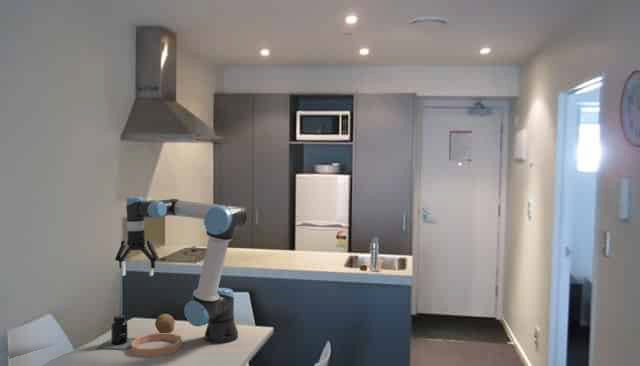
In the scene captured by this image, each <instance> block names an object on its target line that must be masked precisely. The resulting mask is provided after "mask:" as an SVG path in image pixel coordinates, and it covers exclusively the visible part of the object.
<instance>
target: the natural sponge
mask: <svg viewBox="0 0 640 366" xmlns="http://www.w3.org/2000/svg"><path fill="white" fill-rule="evenodd" d="M154 322H155V323H154V325H155V328H156V330H157V331H158V333H172V332H173V331H174V329H175V323H176V322H175V319H174V317H173V316H172V315H170V314H168V313H163V314H160V315H159V316H158V317H157V318H156V320H155V321H154Z"/></svg>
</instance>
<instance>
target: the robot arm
mask: <svg viewBox="0 0 640 366" xmlns="http://www.w3.org/2000/svg"><path fill="white" fill-rule="evenodd" d="M125 201H126V202H125V203H126V205H125V208H126V209H125V210H126V225H127V226H126V229H127V240H125V239H124V240H121V241H120V247H119V249H118V252H117V254H116V256H115V259H114V260H115V261H116V262H118V263H119V264H118V265H119V269H121V272H120V273H121V277H124V276H126V275H127V273H126V269H127V268H126V261H125V259H126V258H127V257H128V255H130V252H131V251H141V252H142V253H143V254H144V255H145V256H146V257H147V259H148V260H149V261H148V267H149V269H148V270H149V277H152V276H154V275H155V274H154V269H156V261H157V260H160V257H159V256H158V253H157V251H156V250H155V248H154V246H153V242H152V240H151V239H149V240H146V239H145V236H146V235H145V218H149V219H150V218H151V219H152V218H153V219H158V218H159V219H161V218H164V217H166V216H176V217H185V218H191V219H198V220H203V225H204V226H205V230H206V231H205V232H206V233H205V234H206V235H207V237H208V239H207V244H206V245H207V246H206V249H205V254H204V258H203V263H202V267H201V273H200V277H199V282H198V285H197V288H196V289H194V291H193V292H192V296H191V300H190V301H188V302H187V303H186V304H185V306H184V312H183V313H184V316H185V318H186V320H187V323H189V324H190V325H192V326H194V327H202V326H206V325H207V326H206V329H205V333H204V340H205V342H208V343H212V344H226V343H231V342H233V341H236V340H237V339H238V338H239V332H238V329H237V325H236V323H235V310H234V309H235V308H234V307H235V305H234V304H235V303H234V302H235V301H234V300H235V299H234V298H235V295H234V290H233V289H231V288H227V287H219V286H220V281H221V277H222V273H223V268H224V264H225V261H226V256H227V252H228V251H227V250H228V246H229V244H230V243H229V242H230V241H232V240H234V236H235V231H237V230H240V229H242V228H244V227H245V226H246V224H247V223H248V221H249V213H248V210H247V208H246V207H245V206H243V205H242V204H240V203H226V202H225V203H223V204H215V203H207V202H206V203H205V202H198V201H197V202H196V201H188V200H180V199H178V198H170V199H169V198H168V199H163V200H151V201H150V200H148V201H147V200H146V201H145V200H144V197H143V196H129V197H127V198H126V200H125ZM145 245H146V246H147V247H146V246H145ZM126 246H128V247H127V249H126ZM123 252H124V253H123Z"/></svg>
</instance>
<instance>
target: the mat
mask: <svg viewBox="0 0 640 366" xmlns="http://www.w3.org/2000/svg"><path fill="white" fill-rule="evenodd" d="M136 338H137V337H128V340H127V342H126V343H125V344H121V345H114V344H112V342H111V338H109V339H107V340H106V341H104V342H102V343H101V344H99V345H98V346H96V347H95V349H96V350H98V349H100V350H116V351H128V349H130V348H132V344H131V342H132V341H133V340H135V339H136Z"/></svg>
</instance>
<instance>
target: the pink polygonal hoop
mask: <svg viewBox="0 0 640 366" xmlns="http://www.w3.org/2000/svg"><path fill="white" fill-rule="evenodd" d="M135 338H136V339H135V340H133V341H132V342H131V344H132V346H131V353H132V354H134V355H137V356H139V357H158V356H165V355H169V354H173V353H175V352H177V351H178V350H180V349H181V348H182V347H183V338H182V336H181V335H179V334H176V333H172V332H171V333H159V332H158V333H149V334H145V335H143V336H138V337H135ZM157 341H170V342H175V343H173V344H169V345H167V346H162V347H154V348H146V347H140V345H142V344H147V343H149V342H157Z"/></svg>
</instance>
